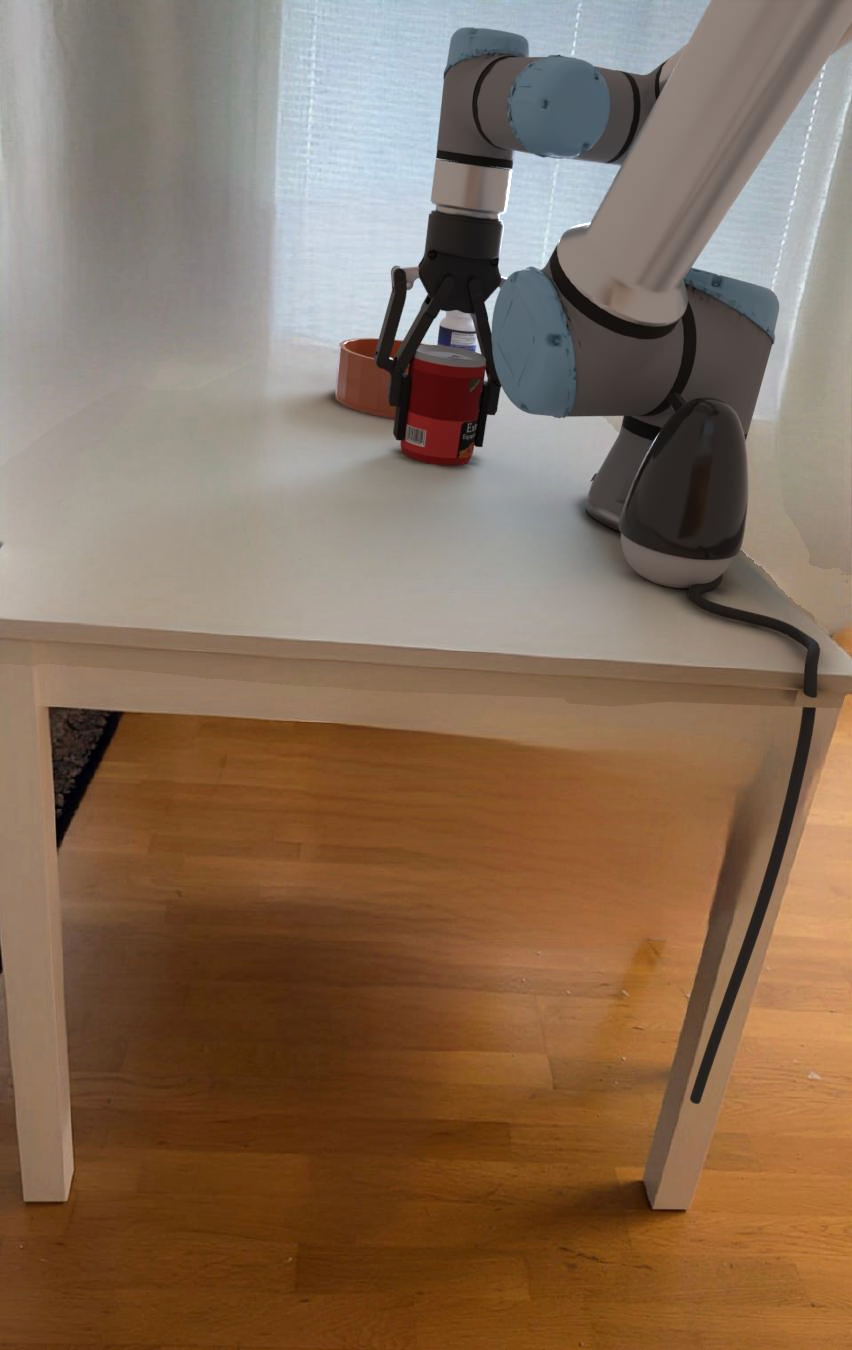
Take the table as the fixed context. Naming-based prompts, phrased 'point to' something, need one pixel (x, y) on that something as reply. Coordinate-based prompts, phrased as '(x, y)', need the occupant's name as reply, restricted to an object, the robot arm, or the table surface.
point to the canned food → (443, 404)
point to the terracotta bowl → (364, 377)
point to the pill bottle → (457, 331)
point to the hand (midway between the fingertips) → (437, 440)
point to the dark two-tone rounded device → (688, 496)
